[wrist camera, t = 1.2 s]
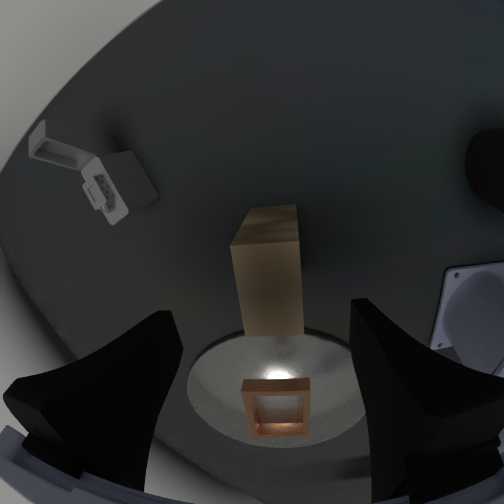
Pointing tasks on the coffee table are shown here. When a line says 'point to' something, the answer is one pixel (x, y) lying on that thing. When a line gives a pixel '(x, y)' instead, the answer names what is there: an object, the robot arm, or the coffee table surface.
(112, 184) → the lighter
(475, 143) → the coffee cup
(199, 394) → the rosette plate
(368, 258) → the coffee table surface
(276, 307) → the wood grain block
